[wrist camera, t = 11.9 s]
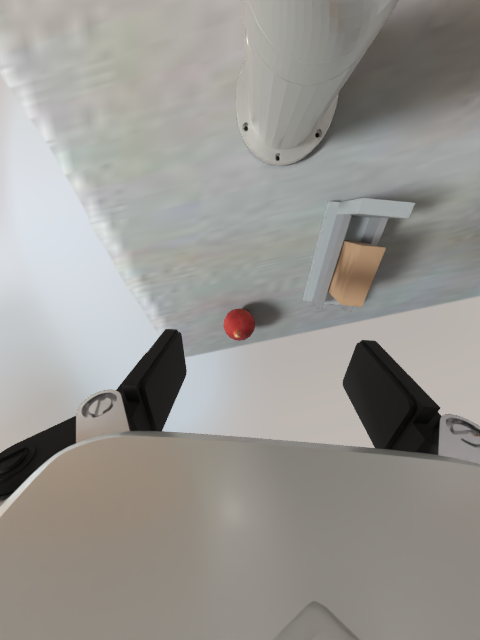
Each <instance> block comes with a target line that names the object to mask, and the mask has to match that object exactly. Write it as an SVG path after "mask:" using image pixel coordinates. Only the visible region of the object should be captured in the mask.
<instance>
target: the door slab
mask: <svg viewBox="0 0 480 640" xmlns="http://www.w3.org/2000/svg"><path fill="white" fill-rule="evenodd" d="M385 249H386V248H385V247H380V246H376V245H372V244H367V243H363V242H359V241H351V240H344V241H343V245H342V248H341V251H340V254H339V257H338V260H337V264H336V267H335V270H334V273H333V276H332V279H331V283H330V286H329V289H328V292H329V293H330V294H331V295H332V296H333V297H334V298H335V299H336V300H337V301H338V303H339V304H340V305H348V306H358V307H362V305H363V303H364V301H365V298H366V296H367V293H368V291H369V288H370V286H371V283H372V281H373V279H374V276H375V274H376V271H377V269H378V266H379V264H380V262H381V259H382V257H383V254H384V252H385Z"/></svg>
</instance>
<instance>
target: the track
mask: <svg viewBox="0 0 480 640" xmlns="http://www.w3.org/2000/svg"><path fill="white" fill-rule="evenodd" d="M414 205H415V203H411V202H401V201H390V200H380V199H369V198H360V199H355V200H349V201H344V202H333V201H329V202H327V206H326V210H325V214H324V218H323V222H322V226H321V230H320V233H319V237H318V241H317V245H316V249H315V253H314V257H313V261H312V265H311V268H310V272H309V276H308V280H307V284H306V288H305V292H304V296H303V300H304V301H309V302H312V303H313V304H314V306H315V307H316V308H317V309H322V308H323V305H324V303H327V304H337V305H339V306H340V307H341V308H342V309H343V310H344V311H345V312H351V311H352V309H353V306H348V305H340V304H339V303H338V301H337V300H336V299H335V298H334V297H333V296H332V295H331V294H330V293H329V292H328V289H329V286H330V283H331V279H332V276H333V273H334V270H335V267H336V264H337V260H338V257H339V254H340V251H341V248H342V245H343V241H344V240H351V241H359V242H363V243H367V244H372V245H376V246H378V243H379V241H380V238H381V236H382V233H383V231H384V228H385V226H386V223H387V220H388V218H409V217H410V214H411V212H412V210H413V207H414Z"/></svg>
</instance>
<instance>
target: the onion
mask: <svg viewBox="0 0 480 640" xmlns="http://www.w3.org/2000/svg"><path fill="white" fill-rule="evenodd" d="M254 328H255V321H254V319H253V316H252V315H251V314H250V313H249V312H248V311H246V310H244V309H235V310H232V311H230V312H229V313H228V314H227V316H226V318H225V320H224V329H225V331H226V334H227V335H228V336H229V337H230V338H232V339H234V340H239V341H240V340H245V339H246V338H248V337H250V336H251V334H252V333H253V331H254Z"/></svg>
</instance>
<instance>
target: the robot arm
mask: <svg viewBox="0 0 480 640" xmlns="http://www.w3.org/2000/svg"><path fill="white" fill-rule="evenodd" d="M398 1H399V0H242V16H243V32H244V48H245V61H244V63H243V66H242V68H241V71H240V75H239V79H238V83H237V91H236V113H237V120H238V125H239V129H240V132H241V135H242V137H243V140H244V142H245V143H246V145H247V147H248V148H249V150H250V151H251V152H252V153H253V154H254V155H255V156H256V157H257V158H259V159H260V160H261V161H263V162H265V163H268V164H270V165H276V166H283V165H289V164H292V163H296V162H297V161H299V160H301V159H303V158H304V157H306V156H307V155H308V154H309V153H310V152H312V151H313V149H314V148H315V147H316V146H317V145H318V144H319V142H320V141H321V140H322V139H323V137H324V136H325V134H326V132H327V130H328V128H329V126H330V124H331V122H332V119H333V116H334V114H335V110H336V106H337V102H338V95H339V91H340V90H341V88H342V87H343V85H344V84H345V83H346V81H347V80H348V78H349V77H350V75H351V74H352V72H353V71H354V69H355V68H356V66H357V65H358V63H359V62H360V60H361V59H362V57H363V56H364V54H365V53H366V51H367V50H368V48H369V47H370V45H371V44H372V42H373V41H374V39H375V38H376V36H377V34H378V33H379V31H380V30H381V28H382V27H383V25H384V24H385V22H386V21H387V19H388V18H389V16H390V14H391V13H392V11H393V9H394V8H395V6H396V4H397V2H398ZM245 127H247V128H248V130H247V131H245V130H244V128H245ZM315 134H318V138H317V137H316V136H315ZM277 156H278V157H279V160H276V157H277ZM185 376H186V364H185V357H184V350H183V343H182V336H181V333H180V332H178V331H177V330H173V329H166V330H165V331H164V332H163V333H162V335H161V336H160V337H159V338H158V340H157V341H156V342H155V343H154V345H153V346H152V347H151V348H150V350H149V351H148V352H147V353H146V354H145V355H144V356H143V357H142V359H141V360H140V361H139V362H138V364H137V365H136V366H135V367H134V369H133V370H132V371H131V372H130V374H129V375H128V376H127V377H126V379H125V380H124V381H123V382H122V384H121V385H120V386H119V387H118V389H117V390H104V391H100V392H97V393H95V394H93V395H91V396H90V397H88V398H87V399H86V400H85V401H84V402H83V403H81V405H80V406H79V408H78V409H77V413H76V416H75V417H72V418H70V419H68V420H66V421H64V422H62V423H60V424H57V425H55V426H53V427H51V428H49V429H47V430H45V431H42V432H40V433H38V434H36V435H34V436H32V437H30V438H27V439H26V440H23V441H21V442H19V443H17V444H15V445H13V446H11V447H9V448H7V449H6V450H4V451H3V452H1V453H0V640H480V426H478V425H477V424H475V423H473V422H471V421H469V420H467V419H465V418H462V417H460V416H456V415H452V414H445V415H443V416H441V415H440V414H439V413H438V410H439V409H440V407H439V406H438V405H437V404H436V403H435V402H434V401H433V400H432V399H431V398H430V397H429V396H428V395H427V394H426V393H425V392H424V391H423V389H421V387H420V386H419V385H418V384H417V383H416V382H415V381H414V380H413V379H412V378H411V377H410V376H409V375H408V374H407V373H406V372H405V371H404V370H403V369H402V368H401V367H400V366H399V365H398V364H397V363H396V362H395V361H394V360H393V358H392V357H391V356H390V355H389V354H388V353H387V352H386V351H385V350H384V349H383V348H382V347H381V346H380V345H379V344H378V343H377V342H376V341H368V340H362V341H361V342H360V343H357V345H356V347H355V350H354V353H353V355H352V358H351V361H350V363H349V366H348V369H347V371H346V374H345V377H344V379H343V387H344V389H345V391H346V393H347V394H348V396H349V399H350V400H351V402H352V404H353V406H354V408H355V410H356V412H357V414H358V416H359V418H360V420H361V422H362V424H363V425H364V427H365V429H366V431H367V433H368V435H369V437H370V439H371V441H372V442H373V445H374V447H375V448H365V447H354V446H343V445H331V444H319V443H308V442H295V441H283V440H271V439H258V438H246V437H234V436H220V435H208V434H195V433H179V432H162V429H163V427H164V424H165V422H166V420H167V418H168V415H169V413H170V411H171V408H172V406H173V404H174V401H175V399H176V397H177V395H178V392H179V390H180V388H181V386H182V383H183V381H184V379H185Z"/></svg>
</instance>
